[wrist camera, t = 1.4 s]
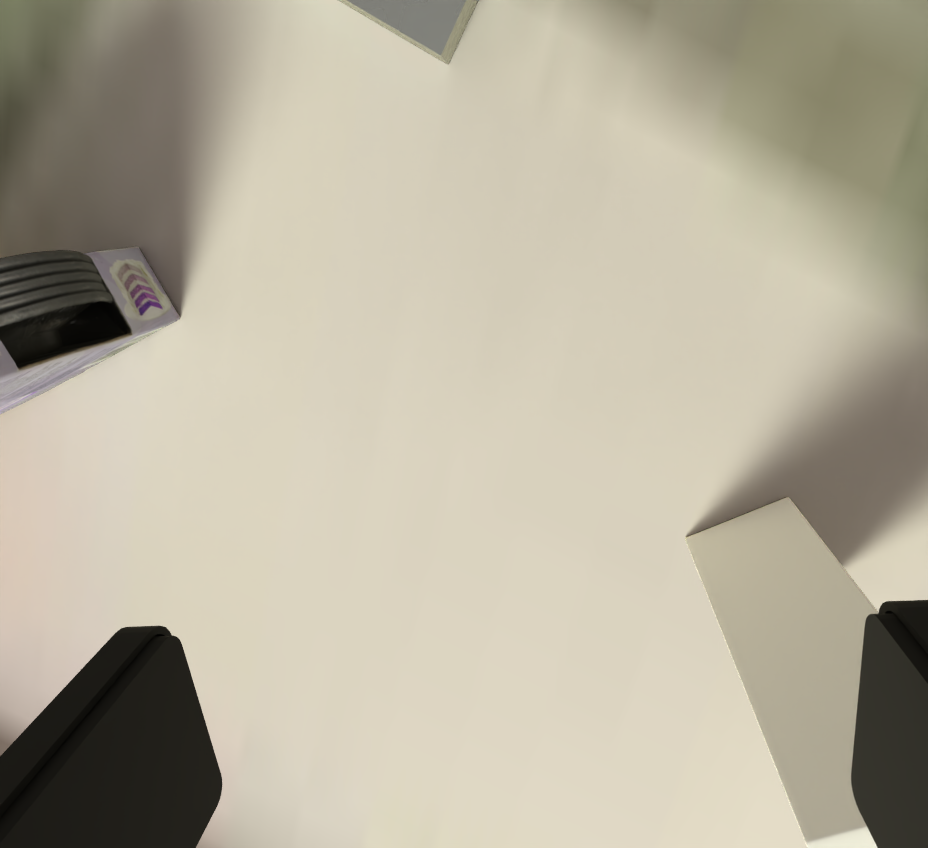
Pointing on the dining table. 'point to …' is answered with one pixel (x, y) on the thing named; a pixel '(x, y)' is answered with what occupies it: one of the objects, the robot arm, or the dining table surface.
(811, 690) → the milk
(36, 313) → the cake pan box
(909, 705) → the robot arm
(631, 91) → the dining table surface
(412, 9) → the breaker panel
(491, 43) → the dining table surface
